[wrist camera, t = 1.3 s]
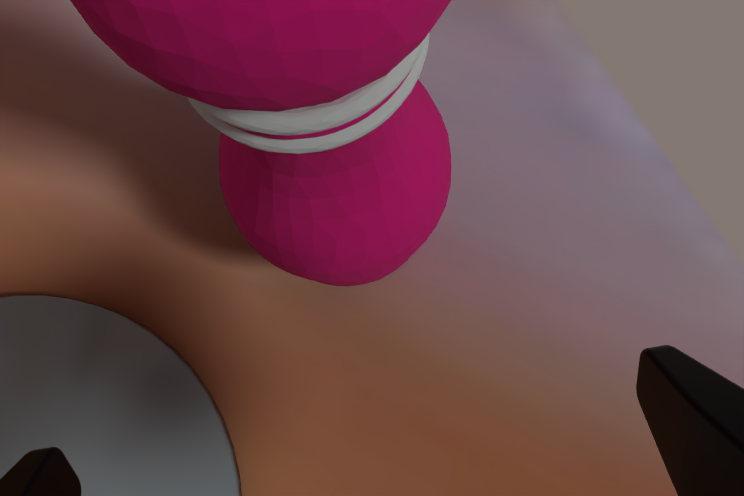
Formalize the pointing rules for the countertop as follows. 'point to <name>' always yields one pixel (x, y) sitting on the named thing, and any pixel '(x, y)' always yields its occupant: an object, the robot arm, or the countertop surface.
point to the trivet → (108, 402)
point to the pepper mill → (305, 119)
